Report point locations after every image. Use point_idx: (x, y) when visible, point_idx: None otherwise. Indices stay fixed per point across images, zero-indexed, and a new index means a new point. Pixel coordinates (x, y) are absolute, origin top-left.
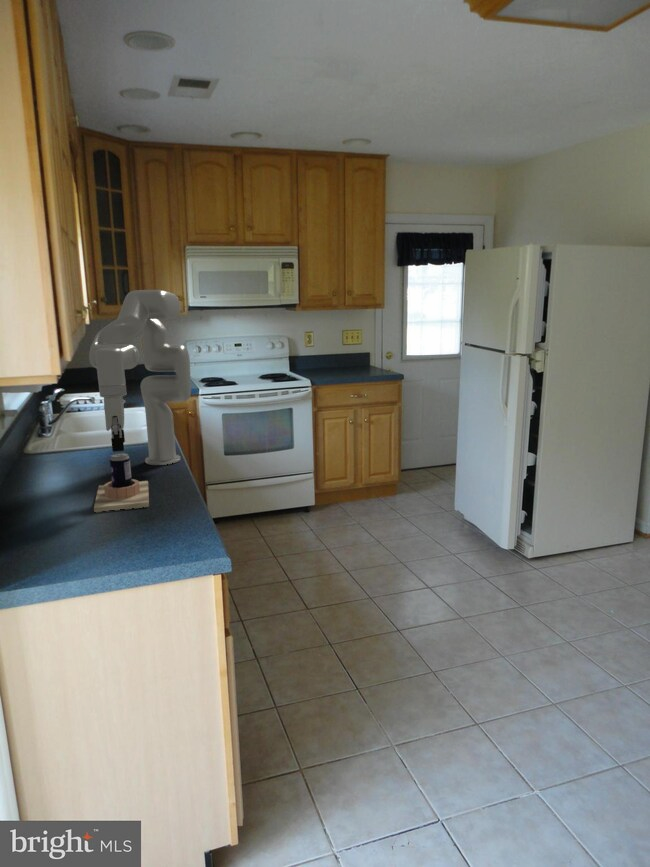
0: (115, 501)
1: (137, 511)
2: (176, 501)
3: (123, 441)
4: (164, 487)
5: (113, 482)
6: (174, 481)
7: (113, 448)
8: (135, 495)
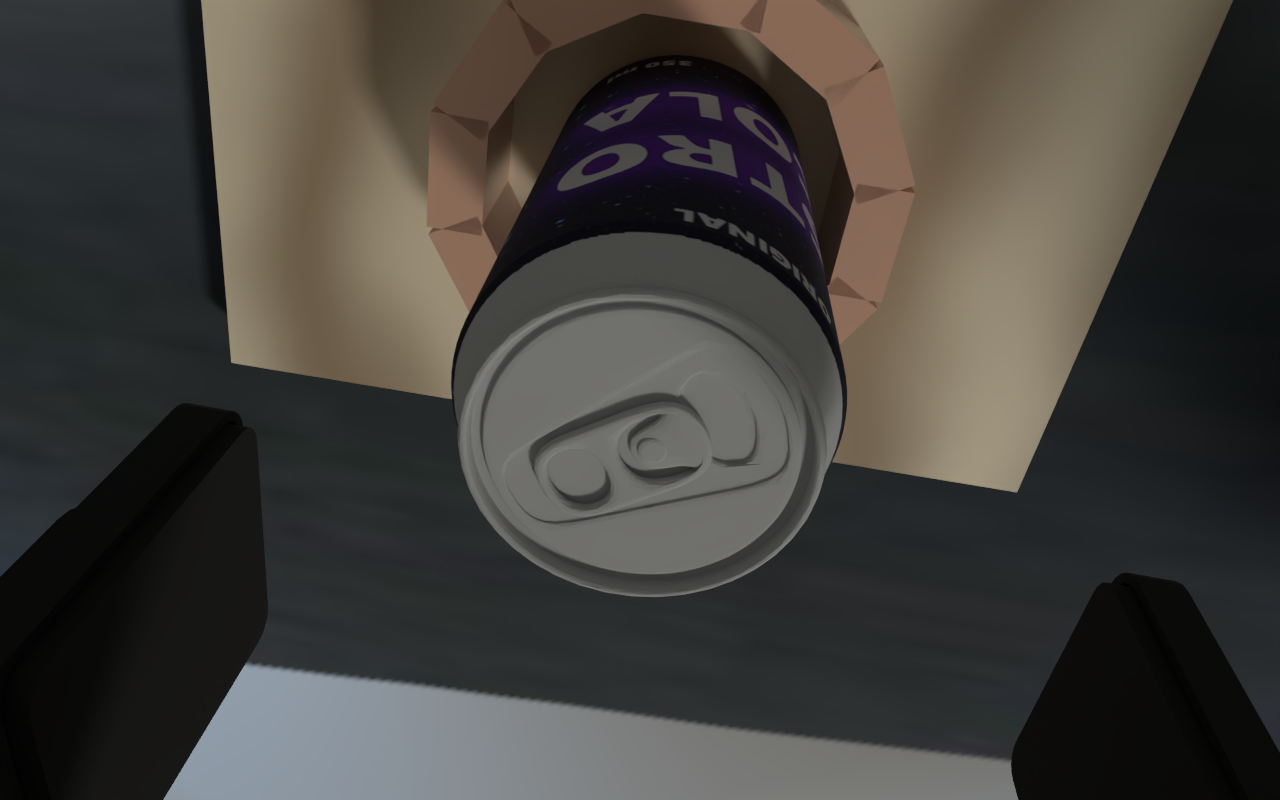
0: (363, 35)
1: (143, 215)
2: (343, 557)
3: (1020, 764)
4: (823, 565)
5: (603, 107)
6: (964, 667)
7: (152, 468)
8: None
